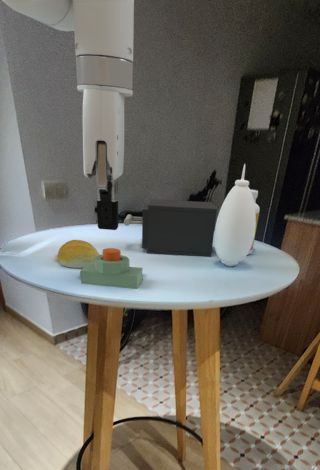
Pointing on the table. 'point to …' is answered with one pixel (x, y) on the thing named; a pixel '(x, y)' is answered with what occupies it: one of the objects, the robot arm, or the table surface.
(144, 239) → the drawer
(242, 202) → the sauce bottle
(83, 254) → the bread roll
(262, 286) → the table surface
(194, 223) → the box
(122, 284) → the box
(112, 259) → the button
